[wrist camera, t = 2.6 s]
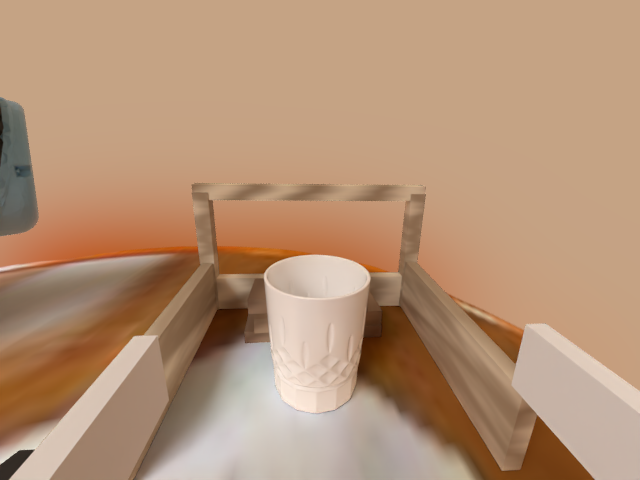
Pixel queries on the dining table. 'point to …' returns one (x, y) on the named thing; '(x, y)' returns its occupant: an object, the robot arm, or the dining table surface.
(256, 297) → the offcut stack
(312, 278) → the white cup
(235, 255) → the dining table surface
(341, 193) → the frame
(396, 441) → the dining table surface
